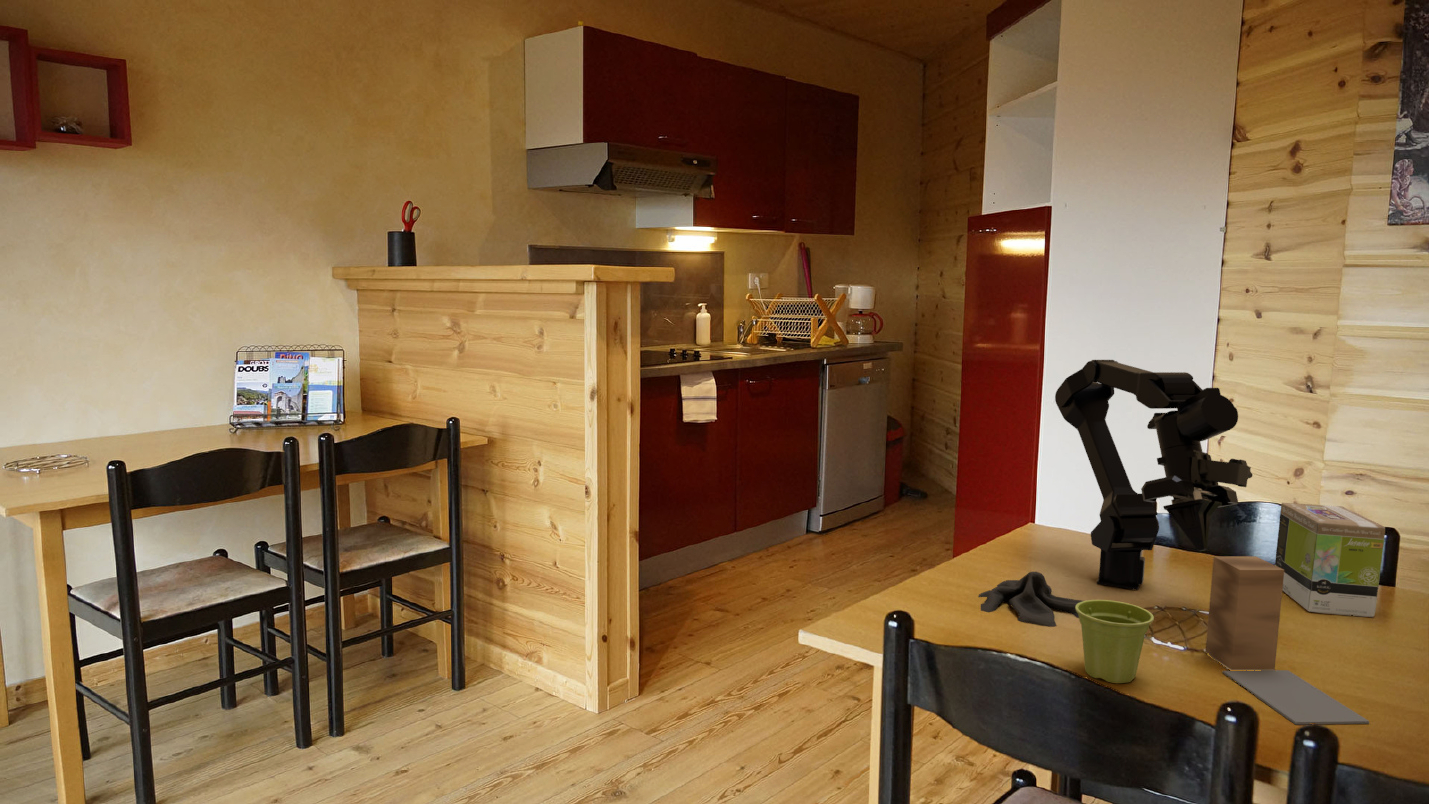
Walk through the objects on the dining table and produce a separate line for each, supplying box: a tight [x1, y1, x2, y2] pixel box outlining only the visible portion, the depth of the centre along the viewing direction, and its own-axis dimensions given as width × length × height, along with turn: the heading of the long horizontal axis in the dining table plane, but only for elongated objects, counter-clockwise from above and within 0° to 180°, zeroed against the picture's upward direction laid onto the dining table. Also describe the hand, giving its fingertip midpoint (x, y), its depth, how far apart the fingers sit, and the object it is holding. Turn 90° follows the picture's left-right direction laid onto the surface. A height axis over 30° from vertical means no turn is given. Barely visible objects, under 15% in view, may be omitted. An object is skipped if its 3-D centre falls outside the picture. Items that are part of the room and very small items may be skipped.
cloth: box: [977, 571, 1083, 628], centre depth 149 cm, size 22×19×6 cm
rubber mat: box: [1222, 669, 1370, 726], centre depth 117 cm, size 14×9×1 cm, turn 3°
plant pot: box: [1075, 599, 1155, 684], centre depth 123 cm, size 9×9×9 cm
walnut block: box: [1205, 555, 1284, 671], centre depth 127 cm, size 6×6×14 cm
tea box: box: [1274, 502, 1386, 618], centre depth 153 cm, size 15×10×15 cm, turn 168°
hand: (1202, 550), depth 140 cm, fingers closed
